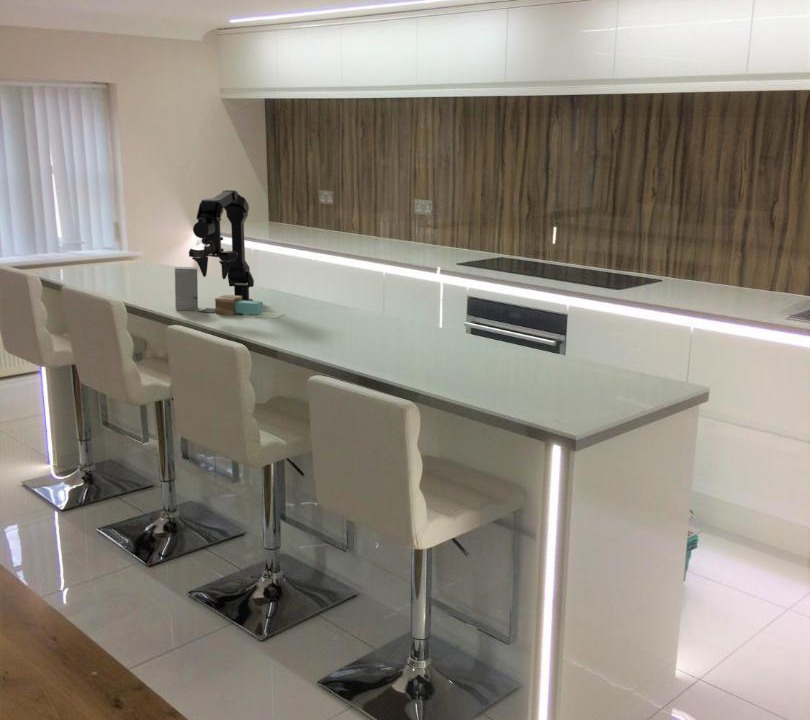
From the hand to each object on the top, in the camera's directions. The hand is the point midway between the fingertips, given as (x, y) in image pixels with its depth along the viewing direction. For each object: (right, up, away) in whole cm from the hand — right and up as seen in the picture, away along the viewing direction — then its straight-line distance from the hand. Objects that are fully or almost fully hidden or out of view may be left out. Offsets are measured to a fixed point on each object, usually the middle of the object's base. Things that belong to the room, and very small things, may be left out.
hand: (214, 277), depth 325 cm
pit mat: (-4, -11, +11) cm, 16 cm away
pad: (+17, -13, +5) cm, 22 cm away
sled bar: (+9, -13, +7) cm, 17 cm away
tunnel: (+4, -12, +8) cm, 15 cm away
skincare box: (-13, -11, +14) cm, 22 cm away
